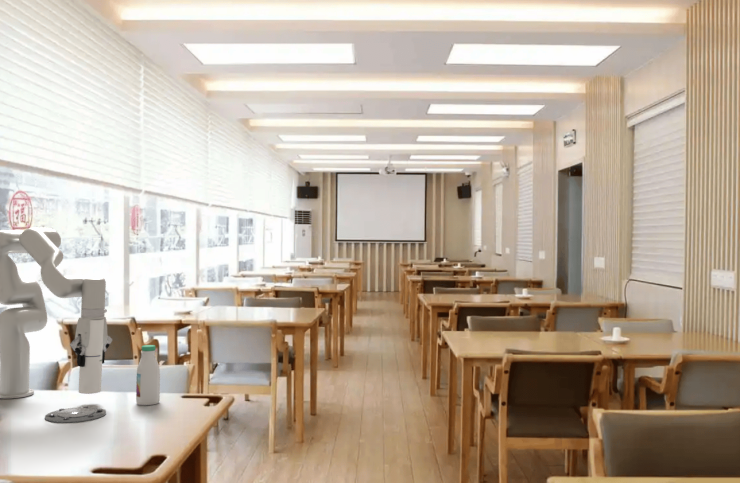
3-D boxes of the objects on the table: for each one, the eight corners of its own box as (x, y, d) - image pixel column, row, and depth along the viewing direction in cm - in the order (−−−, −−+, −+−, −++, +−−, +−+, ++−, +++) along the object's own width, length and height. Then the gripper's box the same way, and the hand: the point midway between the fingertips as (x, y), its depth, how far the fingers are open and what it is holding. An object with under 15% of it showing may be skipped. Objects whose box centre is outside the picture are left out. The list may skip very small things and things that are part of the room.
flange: (32, 417, 214) (32, 414, 214) (82, 406, 229) (82, 402, 229) (69, 425, 205) (69, 421, 205) (118, 413, 220) (118, 409, 220)
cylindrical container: (73, 391, 232) (76, 318, 232) (91, 388, 238) (94, 317, 238) (88, 394, 228) (91, 320, 228) (105, 391, 235) (108, 319, 235)
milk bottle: (163, 401, 238) (163, 344, 238) (154, 406, 231) (154, 347, 231) (142, 400, 239) (142, 343, 239) (132, 405, 231) (132, 347, 231)
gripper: (106, 310, 242) (104, 359, 243) (63, 314, 227) (61, 366, 228) (120, 312, 239) (118, 362, 239) (77, 316, 224) (75, 369, 224)
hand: (90, 364), depth 233 cm, fingers closed on cylindrical container, 7 cm apart
